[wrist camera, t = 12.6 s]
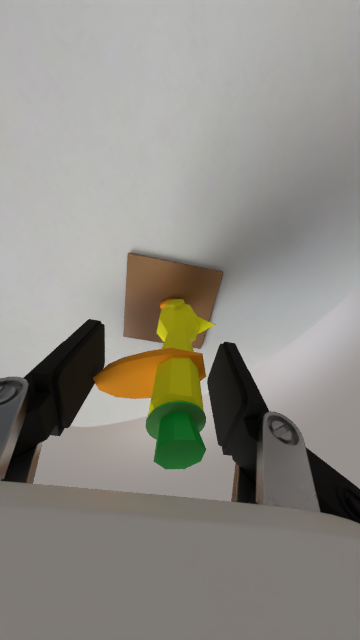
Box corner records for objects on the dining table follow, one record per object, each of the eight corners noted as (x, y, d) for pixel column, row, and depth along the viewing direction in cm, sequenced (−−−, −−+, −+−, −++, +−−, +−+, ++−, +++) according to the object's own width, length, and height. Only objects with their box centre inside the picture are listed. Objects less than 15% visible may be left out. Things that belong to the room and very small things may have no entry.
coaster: (222, 271, 15) (223, 272, 14) (200, 346, 18) (200, 349, 18) (128, 252, 14) (127, 253, 14) (124, 334, 18) (123, 336, 17)
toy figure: (140, 330, 17) (71, 495, 6) (129, 296, 15) (11, 437, 5) (209, 319, 16) (262, 479, 6) (204, 282, 15) (266, 408, 4)
